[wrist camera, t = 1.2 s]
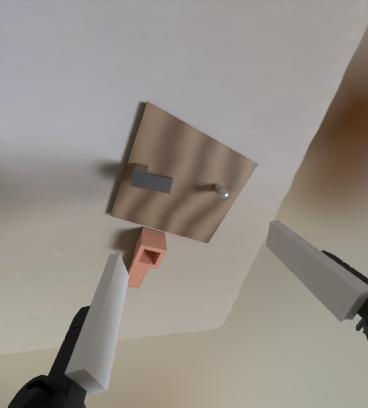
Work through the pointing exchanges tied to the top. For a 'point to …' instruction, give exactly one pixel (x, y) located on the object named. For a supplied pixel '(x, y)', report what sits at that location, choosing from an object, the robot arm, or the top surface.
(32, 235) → the top surface
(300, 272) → the robot arm
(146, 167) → the bracket
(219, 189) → the peg
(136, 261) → the link
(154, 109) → the board
